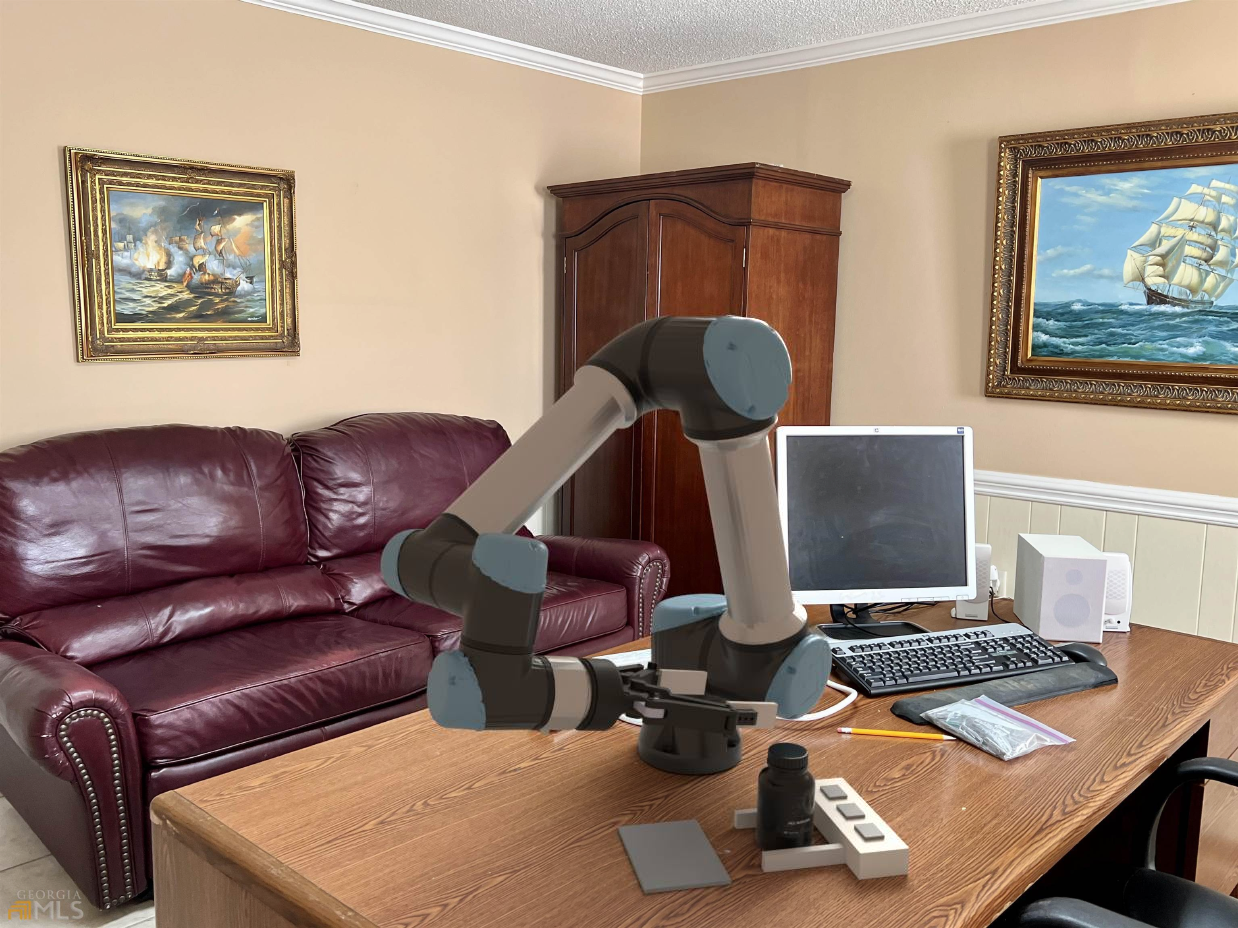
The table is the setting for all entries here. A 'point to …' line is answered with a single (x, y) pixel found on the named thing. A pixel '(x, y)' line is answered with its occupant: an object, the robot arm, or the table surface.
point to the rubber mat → (672, 856)
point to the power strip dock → (840, 836)
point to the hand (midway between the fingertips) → (737, 698)
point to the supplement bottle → (785, 799)
